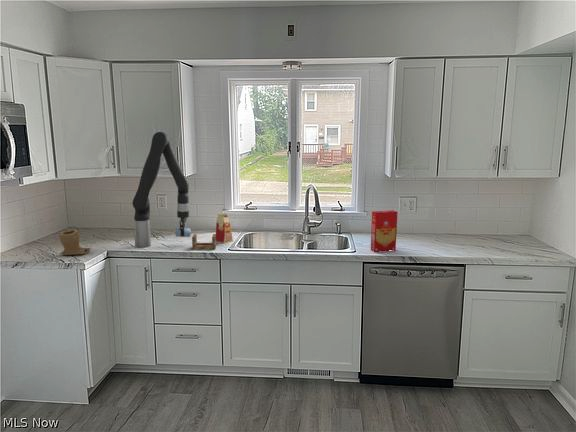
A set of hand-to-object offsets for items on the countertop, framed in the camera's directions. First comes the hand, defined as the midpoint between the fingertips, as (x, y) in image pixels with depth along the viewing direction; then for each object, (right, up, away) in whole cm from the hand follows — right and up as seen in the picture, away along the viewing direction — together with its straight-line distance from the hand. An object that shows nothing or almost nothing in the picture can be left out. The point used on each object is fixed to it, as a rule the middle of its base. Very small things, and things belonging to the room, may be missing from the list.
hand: (183, 235), depth 289 cm
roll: (0, +2, 0) cm, 2 cm away
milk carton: (+25, -5, +10) cm, 27 cm away
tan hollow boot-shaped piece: (-60, -11, -24) cm, 65 cm away
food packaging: (+129, -9, -11) cm, 130 cm away
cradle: (+15, -8, -7) cm, 18 cm away
